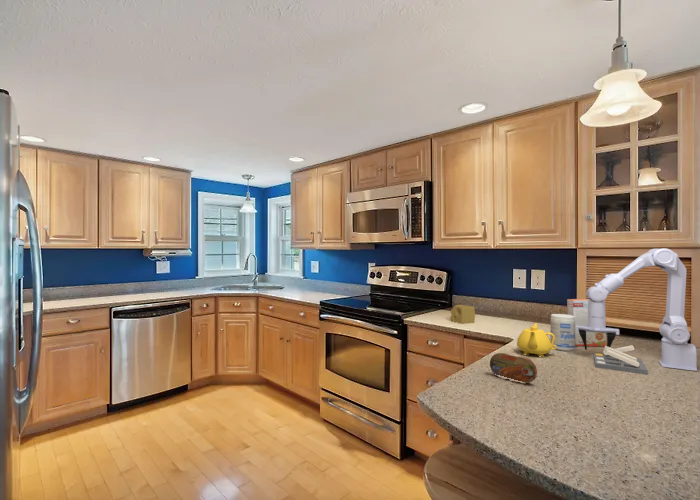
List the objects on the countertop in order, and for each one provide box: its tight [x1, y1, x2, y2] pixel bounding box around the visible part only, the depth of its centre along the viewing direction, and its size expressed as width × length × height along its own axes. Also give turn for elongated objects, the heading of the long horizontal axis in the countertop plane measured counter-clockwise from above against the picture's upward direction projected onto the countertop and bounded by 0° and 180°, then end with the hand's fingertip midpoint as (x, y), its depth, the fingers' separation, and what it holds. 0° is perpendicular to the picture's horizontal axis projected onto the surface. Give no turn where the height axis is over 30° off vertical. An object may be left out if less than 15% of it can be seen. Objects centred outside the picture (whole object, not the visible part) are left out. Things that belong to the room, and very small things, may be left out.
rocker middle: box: [603, 345, 637, 361], centre depth 136 cm, size 10×3×1 cm, turn 58°
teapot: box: [516, 322, 557, 358], centre depth 151 cm, size 20×15×12 cm
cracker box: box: [566, 298, 607, 348], centre depth 166 cm, size 14×6×21 cm, turn 84°
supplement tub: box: [550, 313, 576, 352], centre depth 160 cm, size 10×10×15 cm
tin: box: [489, 352, 538, 384], centre depth 121 cm, size 15×3×8 cm, turn 40°
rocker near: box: [604, 349, 640, 367], centre depth 131 cm, size 10×3×1 cm, turn 58°
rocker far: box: [602, 345, 635, 355], centre depth 141 cm, size 10×3×1 cm, turn 58°
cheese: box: [449, 304, 476, 325], centre depth 222 cm, size 10×11×10 cm
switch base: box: [593, 352, 649, 375], centre depth 136 cm, size 15×16×3 cm
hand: (596, 350), depth 145 cm, fingers open, 7 cm apart
